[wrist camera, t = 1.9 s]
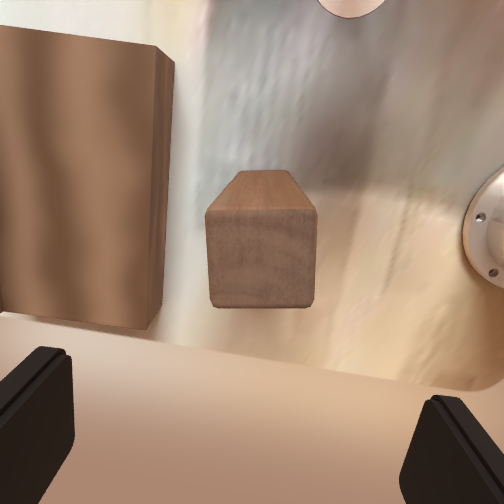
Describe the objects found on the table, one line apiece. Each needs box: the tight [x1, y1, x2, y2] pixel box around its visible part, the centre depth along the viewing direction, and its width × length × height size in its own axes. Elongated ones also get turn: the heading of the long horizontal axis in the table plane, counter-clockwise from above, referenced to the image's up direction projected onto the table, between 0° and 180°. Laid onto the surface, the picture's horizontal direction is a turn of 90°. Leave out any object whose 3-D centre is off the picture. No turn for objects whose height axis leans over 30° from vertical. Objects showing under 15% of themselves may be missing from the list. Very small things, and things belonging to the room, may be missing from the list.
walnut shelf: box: [0, 25, 175, 330], centre depth 26 cm, size 14×22×12 cm, turn 173°
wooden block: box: [205, 170, 317, 308], centre depth 23 cm, size 9×4×18 cm, turn 1°
